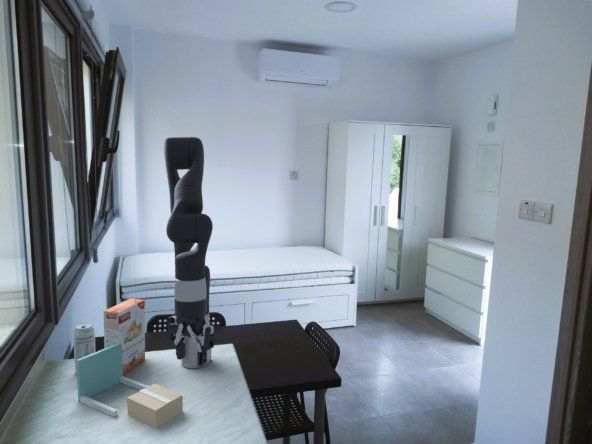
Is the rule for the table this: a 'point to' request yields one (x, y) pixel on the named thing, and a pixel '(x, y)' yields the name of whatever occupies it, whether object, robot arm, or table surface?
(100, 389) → the display stand
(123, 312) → the cracker box
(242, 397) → the table surface
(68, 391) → the table surface
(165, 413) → the kraft carton
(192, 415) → the table surface
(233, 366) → the table surface
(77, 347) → the energy drink can
